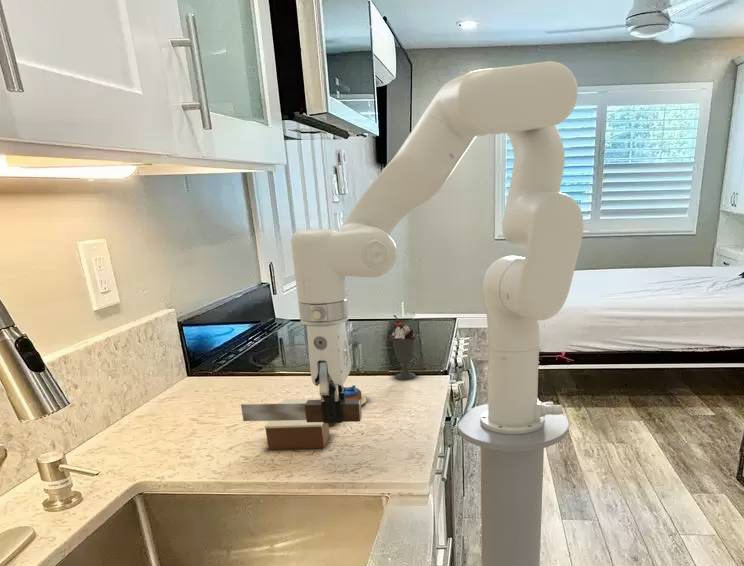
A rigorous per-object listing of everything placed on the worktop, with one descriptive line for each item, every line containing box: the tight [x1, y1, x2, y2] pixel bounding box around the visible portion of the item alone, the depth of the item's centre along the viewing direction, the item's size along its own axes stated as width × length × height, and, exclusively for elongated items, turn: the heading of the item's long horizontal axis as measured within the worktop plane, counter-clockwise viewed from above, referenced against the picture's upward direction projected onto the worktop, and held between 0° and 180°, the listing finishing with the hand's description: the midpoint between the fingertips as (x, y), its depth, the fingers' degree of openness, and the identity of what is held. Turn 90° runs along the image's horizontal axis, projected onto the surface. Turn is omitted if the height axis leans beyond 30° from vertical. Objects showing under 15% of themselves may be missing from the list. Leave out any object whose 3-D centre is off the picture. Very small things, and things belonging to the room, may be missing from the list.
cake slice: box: [280, 397, 336, 426], centre depth 113 cm, size 10×4×5 cm, turn 90°
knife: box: [240, 399, 363, 423], centre depth 96 cm, size 20×2×3 cm, turn 90°
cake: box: [264, 420, 331, 450], centre depth 104 cm, size 10×6×5 cm, turn 90°
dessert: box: [340, 385, 367, 406], centre depth 123 cm, size 8×7×6 cm
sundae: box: [388, 314, 418, 381], centre depth 136 cm, size 7×7×15 cm
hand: (335, 417), depth 97 cm, fingers closed on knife, 2 cm apart
